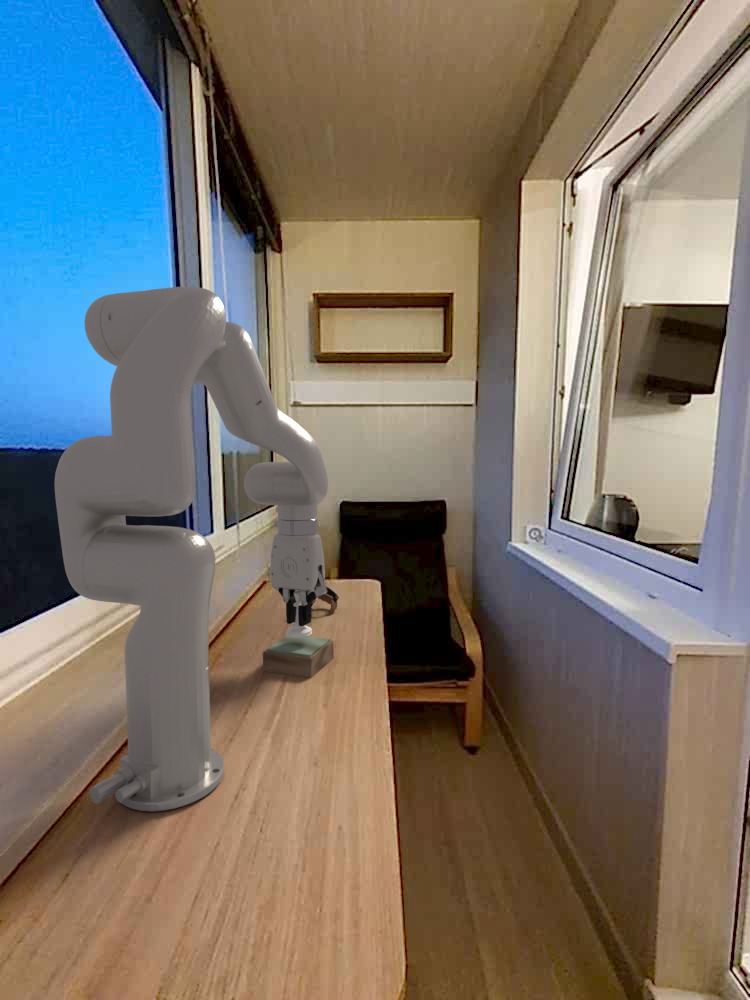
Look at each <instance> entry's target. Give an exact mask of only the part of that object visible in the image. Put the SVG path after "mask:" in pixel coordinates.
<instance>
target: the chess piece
mask: <svg viewBox="0 0 750 1000" xmlns="http://www.w3.org/2000/svg"><path fill="white" fill-rule="evenodd" d="M294 596H295V600H296V603H294V605H293V606H295V607H297V608H296V618H295V622H294V624H292V625H293V626H290V627H288V628H287V629H286V633H285V634H286V636H290V637H306V636H307V637H310V636H311V635H312V634H313V628H311V627H310V626H308V625H304V626H299V618H298V607H299V605H301V591H300V590H297V591H295V592H294Z"/></svg>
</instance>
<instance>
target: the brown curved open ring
mask: <svg viewBox="0 0 750 1000" xmlns="http://www.w3.org/2000/svg"><path fill="white" fill-rule="evenodd" d="M316 589H317V588H316V586H315V588H314V591H315V590H316ZM326 589H327V593H326V594H323V595H321V596H318V597H317V598H316V599H317V600H321V601H322V602H325V603H327V604H329V605H330V609H329V612H328V613H329V614H330V615H333V614H334V613H335V611H336V610H337V608H338V600H339V598H340V597H339V595H338V593H336V592H335V591H334V590H333V589H331V588H330V587H328V586H326ZM307 595H308V592H307ZM316 599H315V600H314V602H313V603H312V607H313V605H314V604H315V602H316Z"/></svg>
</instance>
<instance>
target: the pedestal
mask: <svg viewBox="0 0 750 1000" xmlns="http://www.w3.org/2000/svg"><path fill="white" fill-rule="evenodd" d="M334 656H335V655H334V640H331V639H330V638H323V637H322V638H321V637H314V636H306V637H290V636H288V635H286V636H285V637H283V638H281V639H280V640H278V641H277V642H275V643H274V644H272V645H271V646H269V647H268V648H266V649H265V650H264V651H262V671H265V672H270V673H276V674H277V673H278V674H285V675H292V676H297V677H304V678H313V677H315V675H316V674H318V673H319V672H320V671H321V670H322V669H323V668H324V667H326V666H327V665H328V664H329V663H330V662H331V661H332V660H333V659H334Z"/></svg>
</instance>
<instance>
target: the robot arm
mask: <svg viewBox="0 0 750 1000" xmlns="http://www.w3.org/2000/svg"><path fill="white" fill-rule="evenodd" d="M84 330H85V331H84V332H85V335H86V337H87V339H88V342H89V344H90V346H91V347H92V348H93V349H94V350H93V351H95V352H96V354H98V355H99V357H100V358H101V359H103V360H105V362H107V363H109V364H111V365H113V366H115V367H116V368H115V370H114V373H113V377H112V379H111V384H110V391H109V403H110V424H111V425H110V426H111V435H93V436H92V435H91V436H88V437H83V438H80V439H77V440H76V441H74V442H72V443H71V444H70V445H69V446H68V447H66V449H65V450H64V451H63V453H62V454H61V456H60V458H59V461H58V463H57V467H56V470H55V475H54V494H55V496H54V498H55V505H56V512H57V521H58V529H59V536H60V537H59V538H60V544H61V552H62V559H63V565H64V570H65V574H66V577H67V579H68V582H69V584H70V585H71V587H72V588H73V590H74V592H76V593H77V594H79V596H81V597H83V598H85V599H88V600H91V601H97V602H104V603H114V604H115V603H117V604H127V605H133V606H138V607H140V611H139V613H138V616H137V618H136V619H135V621H134V623H133V624H132V625H131V628H130V630H129V631H128V634H127V636H126V639H125V644H124V666H125V667H124V670H125V673H124V674H125V696H126V700H125V701H126V721H127V722H126V723H127V724H126V725H127V726H126V727H127V748H128V749H127V752H128V753H127V754H125V755H123V756H122V757H120V758H119V764H120V767H119V768H118V769H117V770H115V771H114V773H113V775H112V776H110V777H108V778H105V779H103V780H102V781H100V782H98V783H97V784H95V785H93V786H91V787H90V788H89V797H90V800H91V801H92V802H93V803H94V804H95V805H98V804H100V803H102V802H104V801H105V800H107V799H108V798H110V797H112V796H114V795H115V799H116V801H117V802H118V803H120V804H122V805H123V806H125V807H128V808H130V809H132V810H136V811H141V812H163V811H168V810H174V809H178V808H181V807H185V806H187V805H190V804H192V803H194V802H197V801H199V800H200V799H202V798H204V797H206V796H207V795H208V794H210V793H211V792H212V791H213V790H214V789H215V788H216V787H218V786H219V784H220V783H221V781H222V780H223V777H224V775H225V762H224V758H223V756H222V755H221V754H220V753H219V752H218V751H217V750H215V749H213V748H212V740H211V739H212V737H211V732H212V731H211V698H210V697H211V696H210V657H209V655H210V654H209V653H210V652H209V651H210V650H209V649H210V648H209V618H210V604H211V603H210V602H211V597H212V590H213V584H214V581H215V580H214V579H215V571H216V556H215V551H214V548H213V546H212V544H211V543H210V542H209V540H208V539H207V538H206V537H205V536H204V535H202V534H201V533H199V532H197V531H195V530H193V529H189V528H185V527H180V526H169V525H148V524H146V525H145V524H144V525H131V524H127V521H126V516H127V517H128V516H129V517H166V516H167V517H168V516H169V517H170V516H174V515H178V514H180V513H182V512H184V511H186V510H187V509H188V508H189V507H190V506H191V504H192V503H193V500H194V497H195V495H196V494H195V492H196V470H195V469H196V468H195V453H194V442H193V431H192V429H193V428H192V427H193V426H192V415H191V397H192V391H193V390H192V389H193V386H194V385H197V384H198V385H200V384H202V385H204V386H205V387H206V389H207V392H208V393H209V395H210V397H211V399H212V402H213V403H214V405H215V409H216V410H217V412H218V415H219V416H220V418H221V419H220V420H222V422H223V425H224V427H225V429H226V430H227V432H228V433H229V434H231V435H232V436H234V437H236V438H238V439H240V440H243V441H245V442H247V443H250V444H252V445H254V446H257V447H260V448H263V449H264V450H265V449H266V450H268V451H271V452H273V453H276V454H278V455H279V456H281V457H283V458H285V459H286V460H287V461H280V462H279V461H267V462H266V461H263V462H259V463H255V464H254V465H252V466H250V468H249V469H248V470H247V472H246V474H245V476H244V479H243V487H244V491H245V494H246V496H247V497H248V498H249V499H250V500H251V501H252V502H254V503H256V504H258V505H264V506H265V505H266V506H277V520H275V521H274V523H273V524H274V527H275V528H277V534H274V535H273V541H272V545H271V552H270V565H269V568H270V569H269V572H270V573H269V576H270V577H269V579H270V584H271V587H272V588H273V589H274V590H275V591H277V592H278V593H279V594H280V595H281V597H282V601H283V603H285V610H286V611H285V614H286V615H285V617H286V624H288V625H291V624H293V623H295V618H296V608H297V607H295V606H293V605H294V603H296V600H295V596H294V592H295V591H297V590H300V591H301V605H299V607H298V618H299V626H304V625H305V626H307V625H308V624H311V622H312V618H313V617H312V615H313V614H312V613H313V611H312V610H313V609H312V607H313V606H312V603H313V602H314V600H315V599H318V596H321V595H323V594H326V593H327V589H326V587H327V586H326V583H325V579H326V567H325V565H326V563H325V555H324V547H323V542H322V537H321V535H320V534H319V528H318V527H319V520H318V519H319V518H318V517H319V515H318V511H319V510H318V509H319V508H318V507H319V505H318V504H320V503H322V502H323V501H324V500H325V498H326V496H327V494H328V491H329V479H328V478H329V476H328V473H327V469H326V465H325V462H324V459H323V457H322V456H323V455H322V453H321V450H320V447H319V446H318V443H317V442H316V441H315V439H314V437H312V435H311V434H310V433H309V432H308V431H307V430H306V429H304V427H303V426H301V425H300V424H299V423H298V422H296V421H295V420H294V419H293V418H292V417H290V416H289V415H288V414H286V413H285V412H283V411H282V410H281V409H279V408H278V406H277V405H276V402H275V399H274V397H273V394H272V391H271V389H270V386H269V383H268V381H267V378H266V375H265V373H264V370H263V367H262V364H261V362H260V359H259V357H258V354H257V351H256V348H255V345H254V343H253V341H252V338H251V336H250V335H249V333H248V332H247V330H246V329H244V328H243V327H242V326H241V325H240V324H237V323H235V322H232V321H227V314H226V308H225V305H224V303H223V301H222V299H221V298H220V297H219V295H217V294H216V293H214V292H213V291H211V290H209V289H207V288H203V287H197V286H175V287H174V286H173V287H165V288H164V287H163V288H154V289H148V290H147V289H146V290H138V291H128V292H127V291H125V292H117V293H110V294H105V295H102V296H101V297H98V298H97V299H95V300H93V301H92V302H91V304H90V305H89V307H88V309H87V310H86V312H85V315H84ZM315 586H316V588H317V589H316V590H315V591H314V588H315ZM307 592H308V595H307ZM315 601H316V600H315ZM314 603H315V602H314ZM314 603H313V604H314Z"/></svg>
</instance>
